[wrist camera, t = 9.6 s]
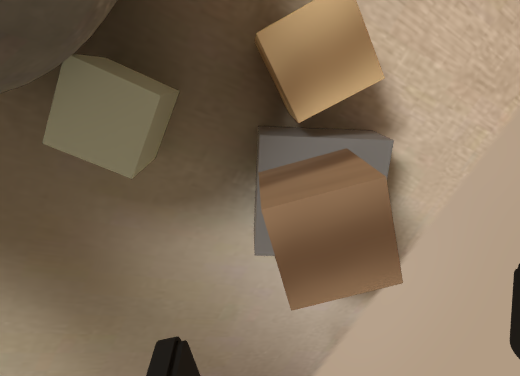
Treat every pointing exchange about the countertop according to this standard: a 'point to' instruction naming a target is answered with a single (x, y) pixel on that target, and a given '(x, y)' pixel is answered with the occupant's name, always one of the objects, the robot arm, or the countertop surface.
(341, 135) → the base block
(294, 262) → the walnut cube
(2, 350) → the countertop surface
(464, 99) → the countertop surface
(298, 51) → the oak cube
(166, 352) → the robot arm
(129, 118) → the sage cube
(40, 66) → the bowl
